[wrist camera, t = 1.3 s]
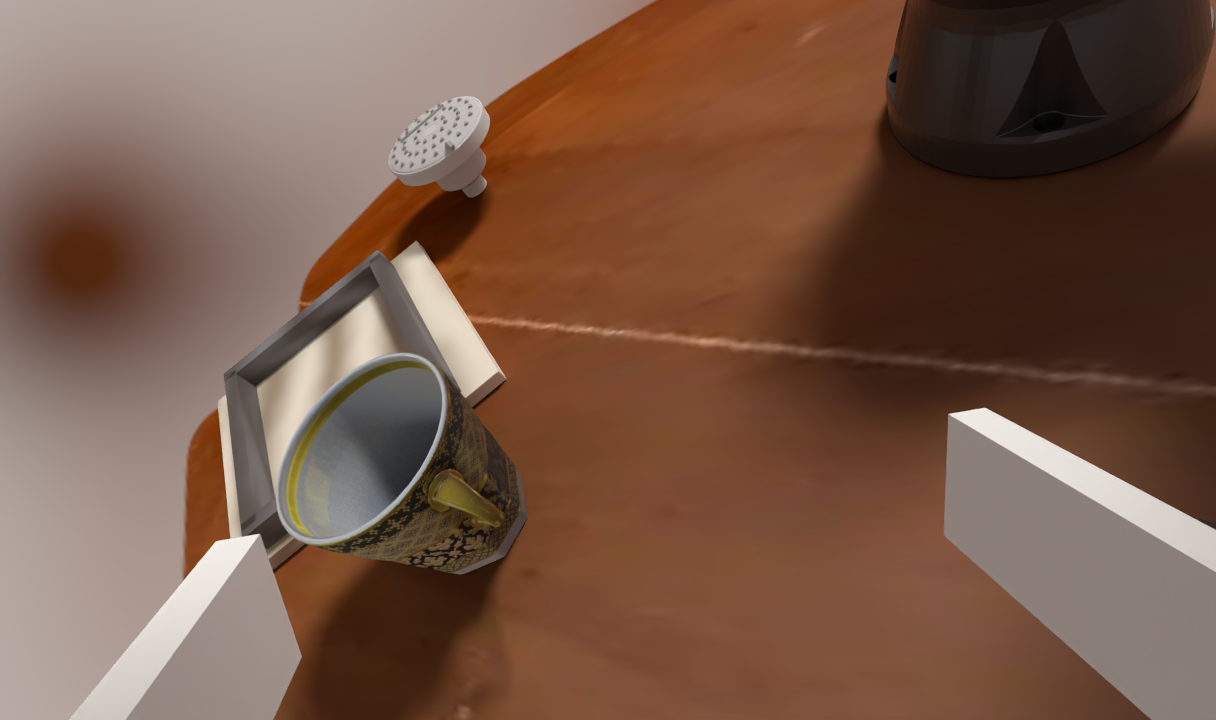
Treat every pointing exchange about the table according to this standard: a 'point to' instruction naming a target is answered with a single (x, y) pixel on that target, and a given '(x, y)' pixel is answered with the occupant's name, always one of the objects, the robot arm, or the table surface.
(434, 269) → the square frame board
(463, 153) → the showerhead
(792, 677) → the table surface
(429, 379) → the ceramic cup
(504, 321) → the table surface
